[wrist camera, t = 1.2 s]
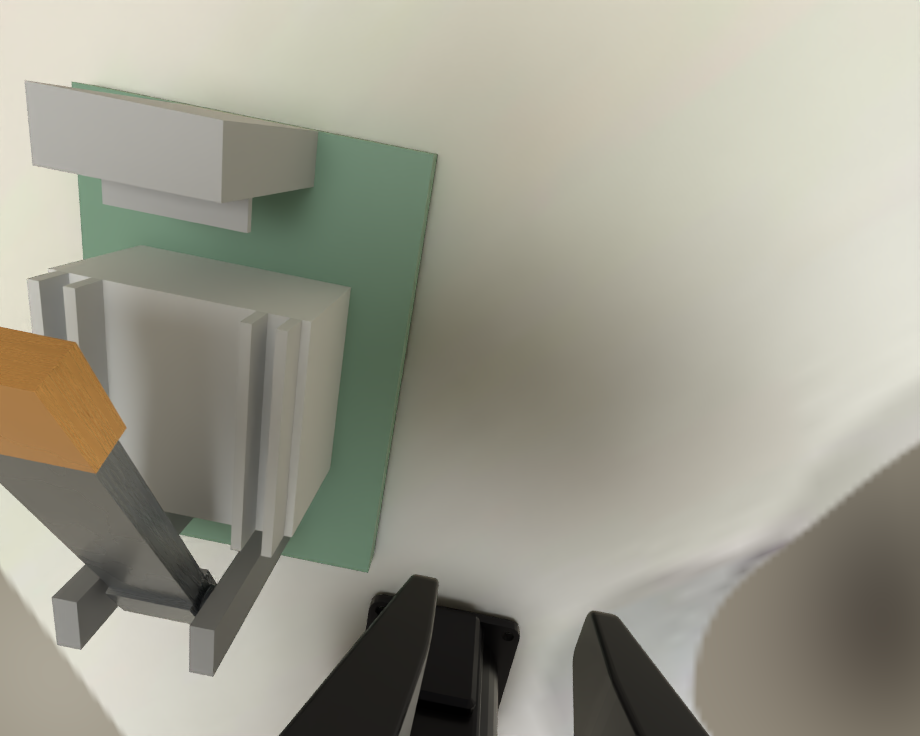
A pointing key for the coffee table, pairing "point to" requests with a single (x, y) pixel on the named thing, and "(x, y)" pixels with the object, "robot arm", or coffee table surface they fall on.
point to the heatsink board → (333, 248)
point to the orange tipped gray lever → (89, 479)
